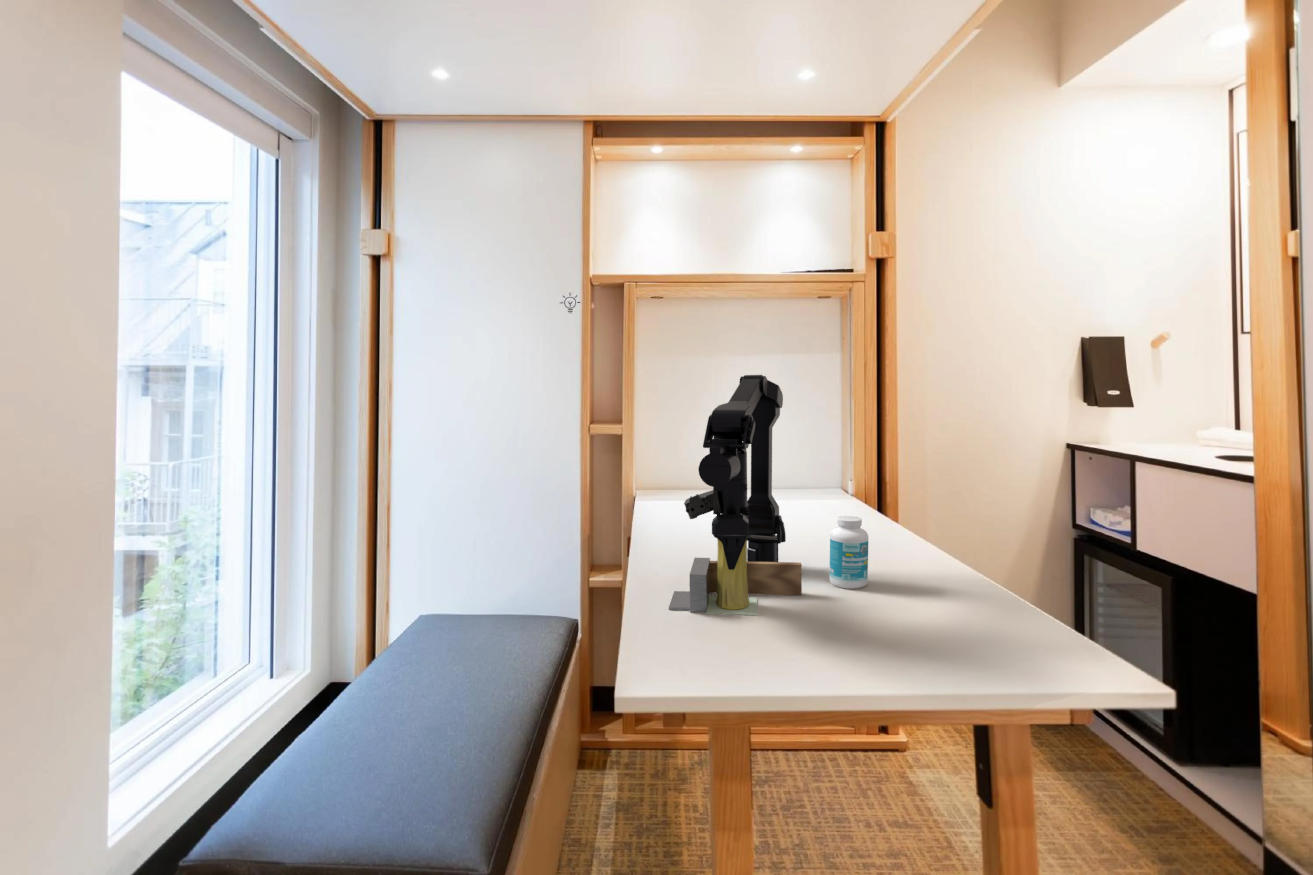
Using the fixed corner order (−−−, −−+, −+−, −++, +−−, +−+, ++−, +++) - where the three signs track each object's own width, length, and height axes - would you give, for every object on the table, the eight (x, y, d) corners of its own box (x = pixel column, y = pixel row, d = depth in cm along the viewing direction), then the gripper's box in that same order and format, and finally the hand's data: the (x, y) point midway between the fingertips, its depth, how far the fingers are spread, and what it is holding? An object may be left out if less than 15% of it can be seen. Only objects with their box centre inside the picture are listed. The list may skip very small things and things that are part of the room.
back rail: (801, 592, 129) (801, 562, 129) (801, 595, 128) (801, 564, 127) (695, 589, 132) (695, 560, 132) (695, 592, 131) (694, 562, 130)
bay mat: (756, 598, 127) (756, 597, 127) (757, 615, 118) (757, 614, 118) (709, 596, 128) (709, 595, 128) (706, 613, 119) (706, 612, 119)
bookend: (710, 592, 130) (710, 557, 130) (706, 612, 120) (706, 574, 119) (674, 591, 131) (674, 557, 131) (668, 611, 121) (667, 573, 120)
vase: (753, 601, 124) (752, 526, 123) (743, 612, 119) (742, 533, 118) (722, 597, 127) (721, 523, 126) (711, 607, 122) (710, 531, 120)
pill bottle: (843, 591, 129) (844, 523, 128) (822, 580, 136) (822, 516, 135) (875, 587, 132) (876, 520, 131) (853, 576, 139) (853, 512, 137)
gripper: (691, 470, 131) (692, 547, 132) (681, 486, 113) (683, 576, 114) (748, 470, 129) (749, 548, 131) (748, 486, 111) (748, 578, 112)
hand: (732, 561), depth 122 cm, fingers open, 9 cm apart
